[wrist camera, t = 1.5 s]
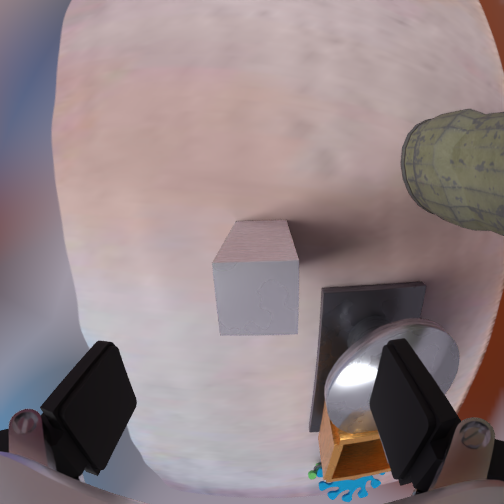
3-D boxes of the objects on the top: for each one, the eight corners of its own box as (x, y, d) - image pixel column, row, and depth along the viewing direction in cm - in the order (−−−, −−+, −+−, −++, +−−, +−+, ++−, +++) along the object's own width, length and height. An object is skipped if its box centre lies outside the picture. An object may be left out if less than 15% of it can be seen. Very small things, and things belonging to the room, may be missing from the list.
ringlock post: (316, 282, 24) (358, 405, 11) (426, 276, 23) (518, 360, 10) (303, 436, 30) (309, 530, 17) (383, 426, 29) (410, 509, 16)
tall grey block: (235, 221, 23) (212, 263, 13) (286, 219, 23) (299, 260, 13) (238, 268, 24) (220, 335, 14) (286, 267, 24) (297, 333, 14)
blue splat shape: (393, 439, 28) (381, 500, 24) (381, 434, 33) (371, 489, 29) (315, 441, 30) (303, 503, 26) (312, 435, 36) (302, 490, 31)
